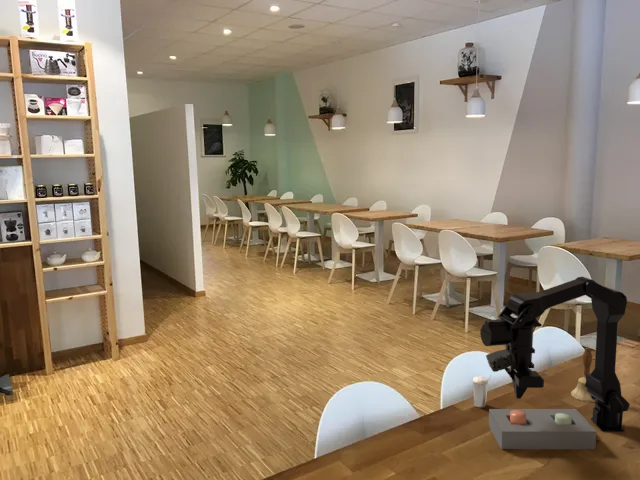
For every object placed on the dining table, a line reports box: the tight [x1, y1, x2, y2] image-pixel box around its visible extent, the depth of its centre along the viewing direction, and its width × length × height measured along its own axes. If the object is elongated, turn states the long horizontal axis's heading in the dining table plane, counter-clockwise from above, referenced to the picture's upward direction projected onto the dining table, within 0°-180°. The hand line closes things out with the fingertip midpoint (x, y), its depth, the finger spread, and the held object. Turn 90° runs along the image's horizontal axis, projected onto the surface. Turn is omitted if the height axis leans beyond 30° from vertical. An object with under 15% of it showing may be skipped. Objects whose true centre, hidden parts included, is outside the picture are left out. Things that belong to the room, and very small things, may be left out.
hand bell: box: [570, 347, 597, 403], centre depth 164 cm, size 8×8×16 cm
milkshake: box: [472, 375, 492, 409], centre depth 160 cm, size 4×5×10 cm
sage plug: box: [555, 413, 571, 425], centre depth 142 cm, size 4×4×5 cm
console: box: [488, 408, 597, 450], centre depth 143 cm, size 24×12×5 cm, turn 88°
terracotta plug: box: [510, 410, 526, 425], centre depth 142 cm, size 4×4×5 cm
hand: (518, 398), depth 141 cm, fingers closed
